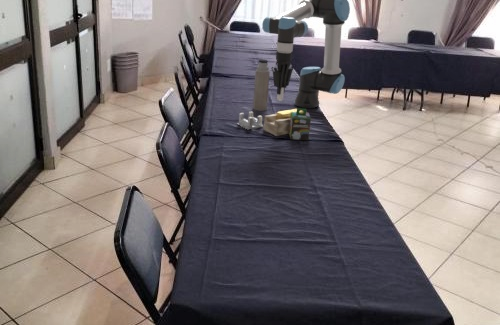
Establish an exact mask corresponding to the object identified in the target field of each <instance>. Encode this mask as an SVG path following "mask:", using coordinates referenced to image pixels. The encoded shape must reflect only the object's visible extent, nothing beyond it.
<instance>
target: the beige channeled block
mask: <svg viewBox="0 0 500 325" xmlns="http://www.w3.org/2000/svg"><path fill="white" fill-rule="evenodd" d="M276 115H277V113H273V114H268V115H264V120H263V131H265V132H267V133H270V134H272V136H273V135H274V136H275V137H278V136H282V135H289V128H290V118H284V119H279V120H276Z"/></svg>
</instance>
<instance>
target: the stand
mask: <svg viewBox="0 0 500 325" xmlns="http://www.w3.org/2000/svg"><path fill="white" fill-rule="evenodd" d="M238 115H239V117H238V122H237V123H236V125H237V124H238V125H240V126H241V128H242V127H243V128H242V129H244V128H245V129H244V130H246V129H247V130H246V131H250V130H249V129H251V130H255V129H260V128H264V124H263V116H262V115H257V117H255V116H254V112H253V111H248V117H247V119H246V118H245V113H244V112H240V113H239V114H238ZM238 125H237V126H238ZM240 126H239V127H240Z"/></svg>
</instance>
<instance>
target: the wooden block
mask: <svg viewBox="0 0 500 325" xmlns="http://www.w3.org/2000/svg"><path fill="white" fill-rule="evenodd" d="M297 109H298V108H293V109H287V110H281V111H280V110H279V111H277V112H276V114H277V115H276V120H279V119H284V118H290V116H291V112H297ZM299 112H304V111H299Z"/></svg>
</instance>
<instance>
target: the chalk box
mask: <svg viewBox="0 0 500 325" xmlns="http://www.w3.org/2000/svg"><path fill="white" fill-rule="evenodd" d="M296 109H297V112H291V116H290V128H289V133H288V135H289V140H297V141H298V140H299V141H309V139H310V132H311V131H310V130H311V122H312V118H311V115H310V112H307V111H308V110H307V109H308V108H296ZM299 111H303V112H299Z"/></svg>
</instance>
